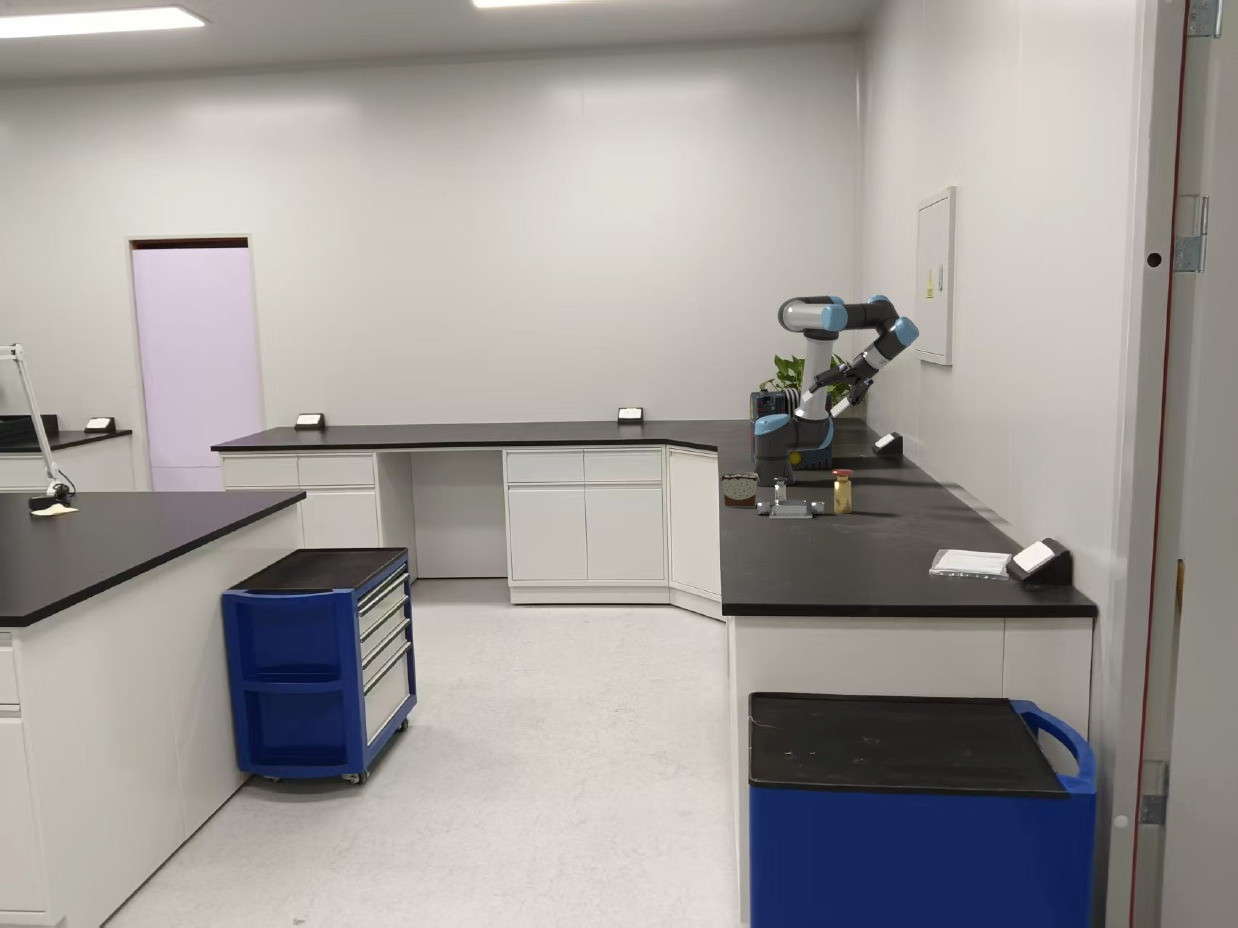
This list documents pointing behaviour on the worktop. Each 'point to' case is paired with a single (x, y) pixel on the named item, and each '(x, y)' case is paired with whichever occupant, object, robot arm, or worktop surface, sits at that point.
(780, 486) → the clear glass cylinder
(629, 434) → the worktop surface
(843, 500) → the brass valve
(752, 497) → the food container
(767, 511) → the flange socket
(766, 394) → the power unit
